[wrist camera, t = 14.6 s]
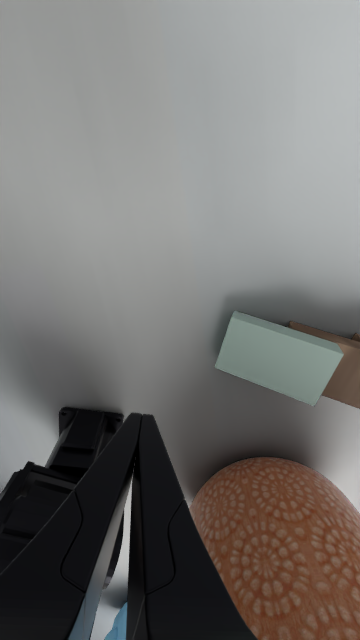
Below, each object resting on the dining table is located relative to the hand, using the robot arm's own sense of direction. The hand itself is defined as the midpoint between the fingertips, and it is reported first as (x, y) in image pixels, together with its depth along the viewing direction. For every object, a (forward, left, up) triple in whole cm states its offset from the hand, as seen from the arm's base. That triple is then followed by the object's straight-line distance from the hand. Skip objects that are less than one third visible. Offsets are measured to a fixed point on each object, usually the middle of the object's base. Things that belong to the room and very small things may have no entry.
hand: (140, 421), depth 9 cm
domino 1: (-2, -6, -12) cm, 14 cm away
